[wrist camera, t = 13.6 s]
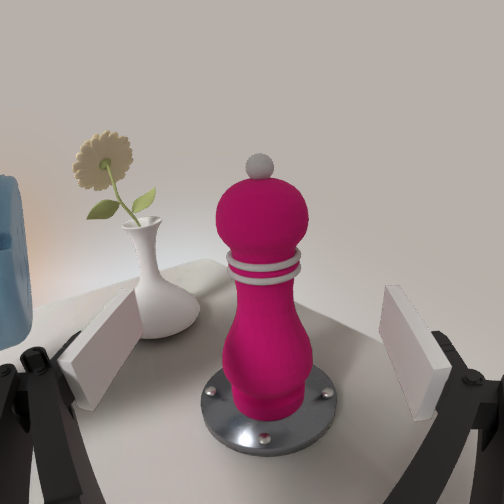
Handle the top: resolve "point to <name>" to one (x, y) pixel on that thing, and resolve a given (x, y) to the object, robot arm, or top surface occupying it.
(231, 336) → the pepper mill
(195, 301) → the flower in vase
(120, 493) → the top surface
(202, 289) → the top surface
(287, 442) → the flange plate
